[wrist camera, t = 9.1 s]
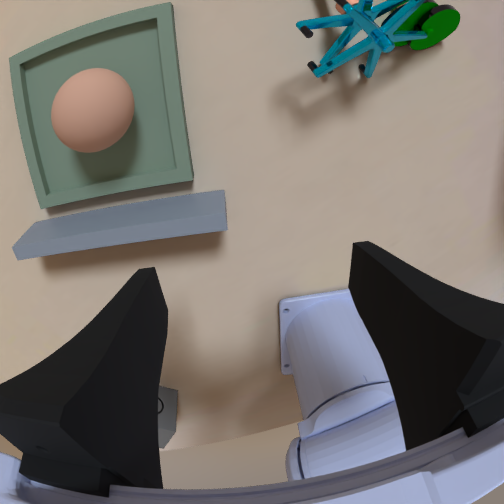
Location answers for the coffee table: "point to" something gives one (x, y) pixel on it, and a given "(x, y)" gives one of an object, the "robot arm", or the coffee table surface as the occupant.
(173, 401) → the dice cube
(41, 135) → the green tray
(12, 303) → the coffee table surface
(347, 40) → the stick construction toy
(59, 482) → the robot arm
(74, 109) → the rubber ball
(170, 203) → the low wall
